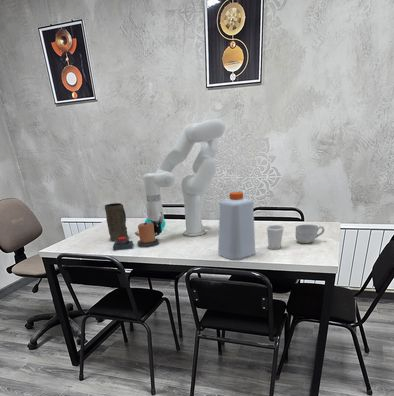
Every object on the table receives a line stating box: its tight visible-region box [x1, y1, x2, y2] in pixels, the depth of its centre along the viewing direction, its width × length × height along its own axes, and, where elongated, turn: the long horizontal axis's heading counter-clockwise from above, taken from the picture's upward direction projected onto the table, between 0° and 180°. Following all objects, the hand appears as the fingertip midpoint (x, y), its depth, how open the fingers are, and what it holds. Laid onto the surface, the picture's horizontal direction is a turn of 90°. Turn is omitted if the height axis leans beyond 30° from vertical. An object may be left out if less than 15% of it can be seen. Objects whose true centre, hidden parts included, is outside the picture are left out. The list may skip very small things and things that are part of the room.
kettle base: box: [137, 237, 160, 248], centre depth 190 cm, size 12×12×2 cm
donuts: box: [144, 217, 166, 230], centre depth 210 cm, size 10×10×10 cm
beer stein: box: [104, 202, 129, 242], centre depth 201 cm, size 15×11×20 cm
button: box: [118, 237, 126, 242], centre depth 186 cm, size 4×4×2 cm
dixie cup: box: [266, 224, 285, 250], centre depth 169 cm, size 8×8×10 cm
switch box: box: [112, 238, 134, 251], centre depth 187 cm, size 10×8×4 cm
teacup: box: [295, 223, 325, 244], centre depth 174 cm, size 14×11×8 cm
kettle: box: [134, 222, 161, 243], centre depth 188 cm, size 17×8×10 cm, turn 139°
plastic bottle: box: [217, 191, 256, 261], centre depth 159 cm, size 15×15×28 cm
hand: (157, 232), depth 193 cm, fingers closed on kettle
